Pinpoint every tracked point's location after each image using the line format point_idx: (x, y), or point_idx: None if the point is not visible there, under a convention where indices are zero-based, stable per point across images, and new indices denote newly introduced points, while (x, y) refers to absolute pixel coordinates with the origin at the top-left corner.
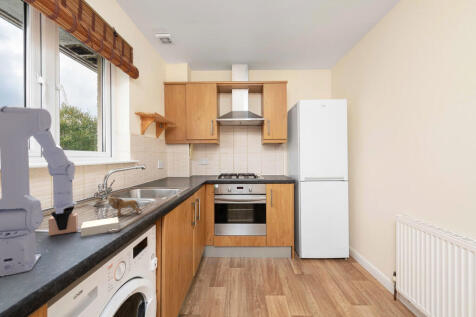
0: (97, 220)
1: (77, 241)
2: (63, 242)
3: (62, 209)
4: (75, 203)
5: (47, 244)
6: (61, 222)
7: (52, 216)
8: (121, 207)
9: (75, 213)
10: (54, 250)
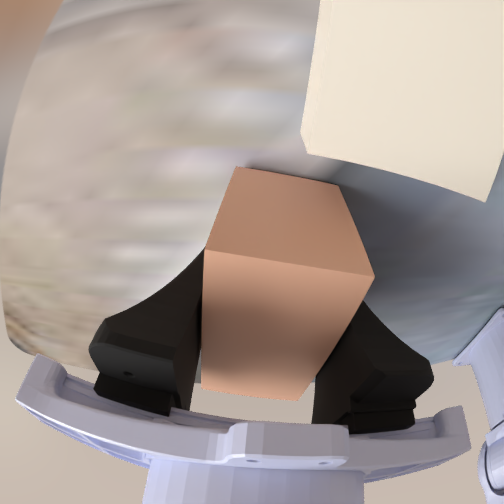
0: (357, 18)
1: (498, 204)
2: (456, 254)
3: (468, 434)
4: (348, 452)
5: (417, 302)
6: None
7: (221, 387)
8: None
9: (223, 272)
10: (498, 279)
